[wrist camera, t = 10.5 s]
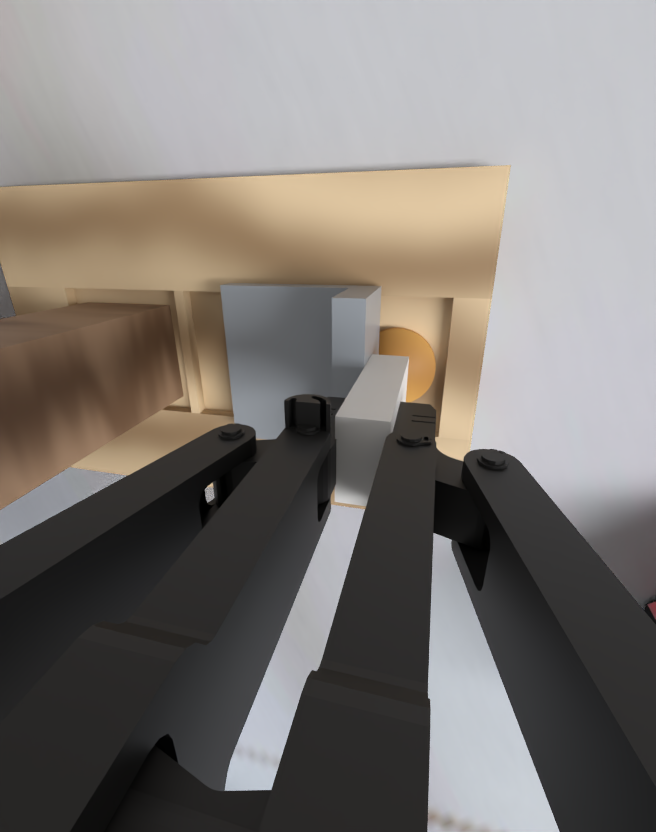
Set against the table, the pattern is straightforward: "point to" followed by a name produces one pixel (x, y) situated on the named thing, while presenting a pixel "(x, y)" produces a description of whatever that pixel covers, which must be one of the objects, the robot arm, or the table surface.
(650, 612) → the puzzle cube
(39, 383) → the walnut block
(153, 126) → the table surface
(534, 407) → the table surface
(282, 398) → the slide cover
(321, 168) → the table surface
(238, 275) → the puzzle board
